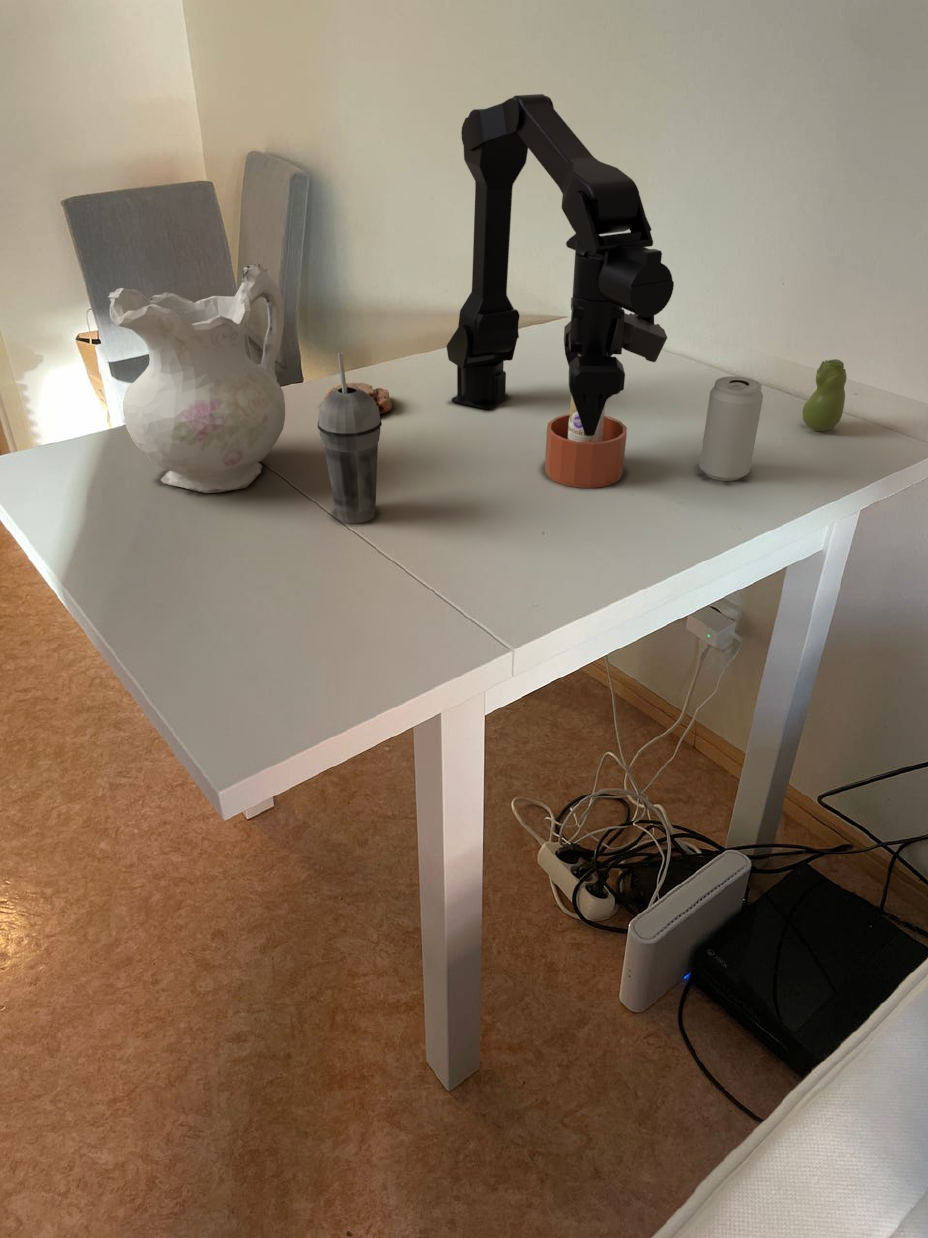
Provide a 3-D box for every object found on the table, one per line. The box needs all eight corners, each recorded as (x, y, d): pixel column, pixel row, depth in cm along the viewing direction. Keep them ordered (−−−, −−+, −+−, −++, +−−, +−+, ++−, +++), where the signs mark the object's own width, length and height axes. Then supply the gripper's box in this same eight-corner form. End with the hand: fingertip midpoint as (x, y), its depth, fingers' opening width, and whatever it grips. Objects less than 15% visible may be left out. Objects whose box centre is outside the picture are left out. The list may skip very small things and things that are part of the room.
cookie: (337, 392, 149) (336, 373, 147) (402, 399, 146) (402, 380, 145) (312, 416, 141) (310, 396, 139) (380, 423, 138) (379, 403, 137)
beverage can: (753, 467, 126) (769, 378, 119) (743, 487, 121) (759, 395, 115) (704, 458, 128) (718, 371, 122) (693, 477, 123) (706, 387, 117)
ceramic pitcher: (237, 436, 137) (201, 253, 124) (339, 459, 127) (311, 262, 114) (112, 491, 123) (57, 290, 110) (216, 522, 112) (168, 305, 100)
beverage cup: (395, 506, 117) (388, 342, 106) (371, 533, 111) (361, 363, 100) (341, 497, 119) (328, 336, 108) (314, 523, 113) (298, 356, 102)
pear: (833, 439, 134) (849, 369, 128) (794, 432, 136) (809, 362, 130) (842, 426, 138) (857, 357, 132) (804, 419, 140) (818, 351, 134)
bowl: (531, 476, 124) (533, 433, 120) (565, 449, 131) (568, 407, 127) (603, 494, 119) (607, 449, 116) (634, 465, 127) (638, 422, 123)
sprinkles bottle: (561, 470, 124) (567, 368, 117) (570, 456, 128) (577, 357, 120) (595, 475, 123) (604, 373, 115) (604, 461, 126) (613, 361, 119)
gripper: (677, 319, 105) (660, 452, 113) (656, 275, 120) (643, 395, 129) (574, 317, 105) (565, 450, 114) (567, 273, 120) (560, 393, 129)
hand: (587, 420), depth 121 cm, fingers open, 9 cm apart
